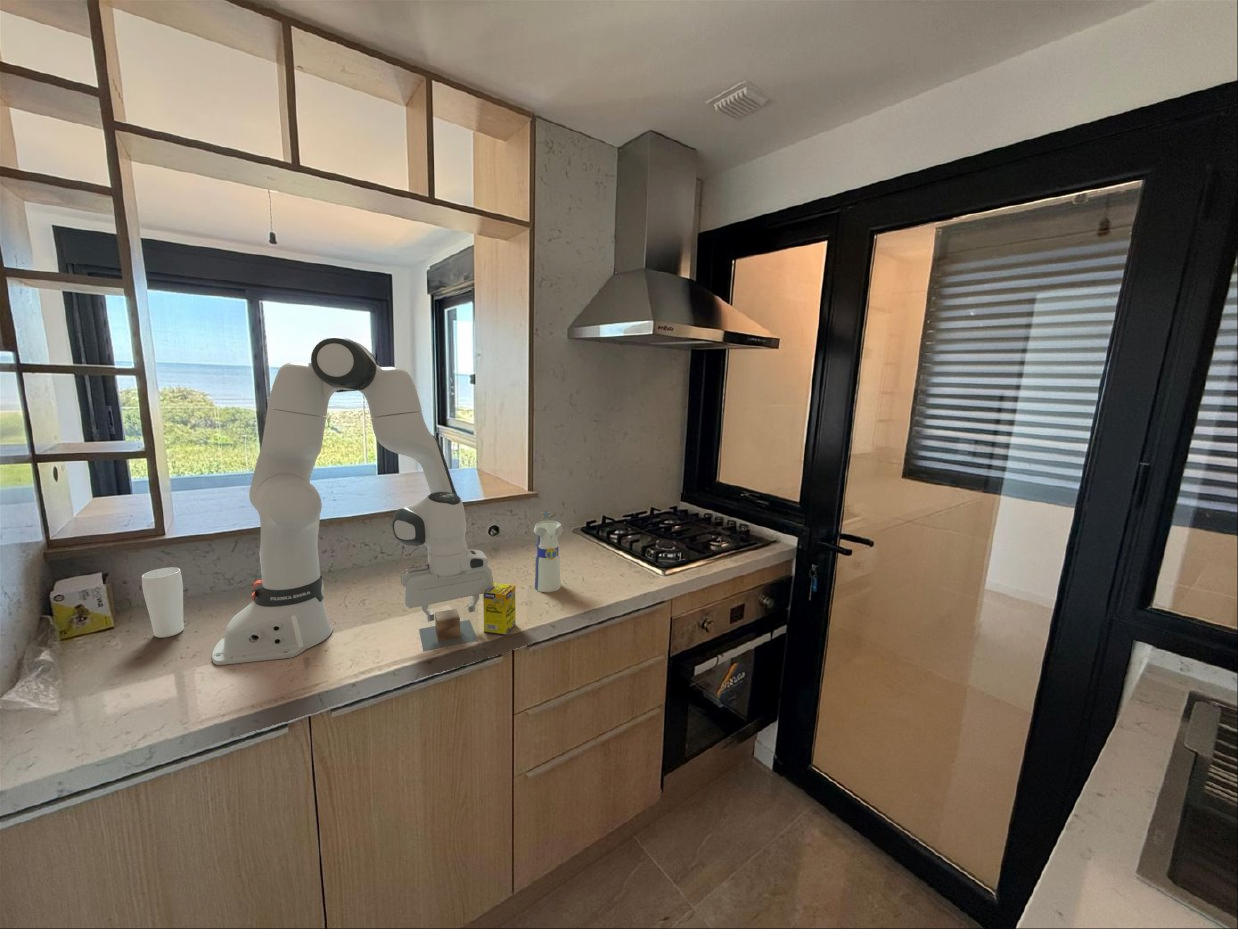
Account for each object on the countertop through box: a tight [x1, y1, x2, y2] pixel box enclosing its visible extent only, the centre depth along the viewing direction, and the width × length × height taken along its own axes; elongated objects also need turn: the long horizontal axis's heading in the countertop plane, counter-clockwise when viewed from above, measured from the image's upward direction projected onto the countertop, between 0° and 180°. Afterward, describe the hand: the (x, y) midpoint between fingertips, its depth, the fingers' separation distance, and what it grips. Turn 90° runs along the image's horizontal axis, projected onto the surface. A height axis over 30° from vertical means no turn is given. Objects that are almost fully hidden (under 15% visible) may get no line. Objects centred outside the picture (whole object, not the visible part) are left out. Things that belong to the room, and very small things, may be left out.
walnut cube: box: [434, 608, 461, 642], centre depth 118 cm, size 5×5×5 cm
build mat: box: [418, 619, 479, 652], centre depth 119 cm, size 12×11×1 cm
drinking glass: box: [141, 566, 185, 639], centre depth 116 cm, size 7×7×15 cm
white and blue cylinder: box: [533, 509, 564, 593], centre depth 146 cm, size 8×9×25 cm
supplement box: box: [482, 582, 516, 637], centre depth 121 cm, size 6×6×11 cm
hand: (451, 615), depth 119 cm, fingers open, 8 cm apart
